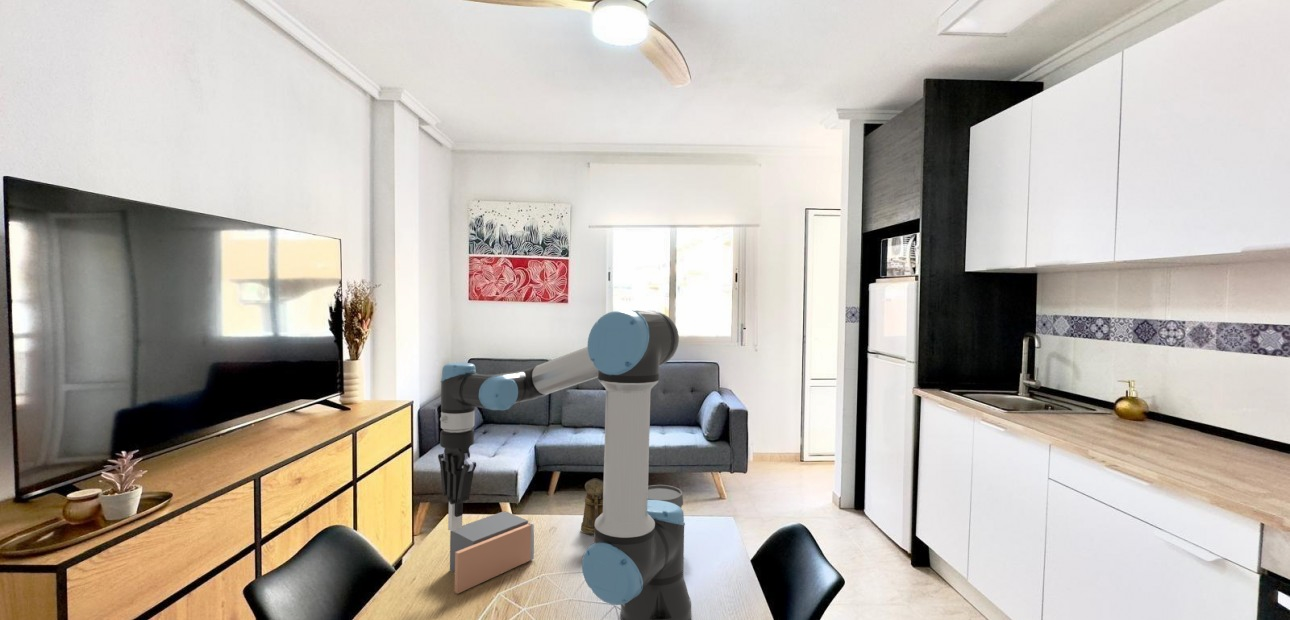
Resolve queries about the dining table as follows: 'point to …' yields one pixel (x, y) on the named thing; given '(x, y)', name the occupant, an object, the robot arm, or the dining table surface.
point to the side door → (493, 557)
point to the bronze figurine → (592, 505)
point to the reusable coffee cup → (665, 494)
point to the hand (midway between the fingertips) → (455, 528)
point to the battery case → (482, 532)
